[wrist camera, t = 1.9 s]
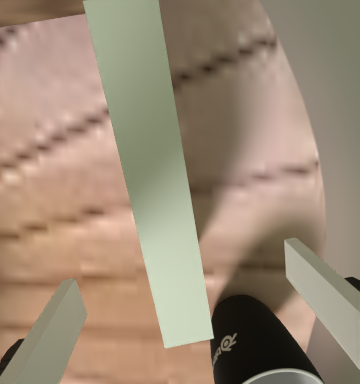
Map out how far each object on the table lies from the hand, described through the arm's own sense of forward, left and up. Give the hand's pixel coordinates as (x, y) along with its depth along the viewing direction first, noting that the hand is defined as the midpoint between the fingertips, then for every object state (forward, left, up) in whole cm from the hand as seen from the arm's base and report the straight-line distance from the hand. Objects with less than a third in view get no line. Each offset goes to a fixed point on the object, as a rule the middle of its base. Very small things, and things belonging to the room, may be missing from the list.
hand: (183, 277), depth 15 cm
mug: (+5, -16, -11) cm, 19 cm away
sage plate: (0, +5, -11) cm, 12 cm away
